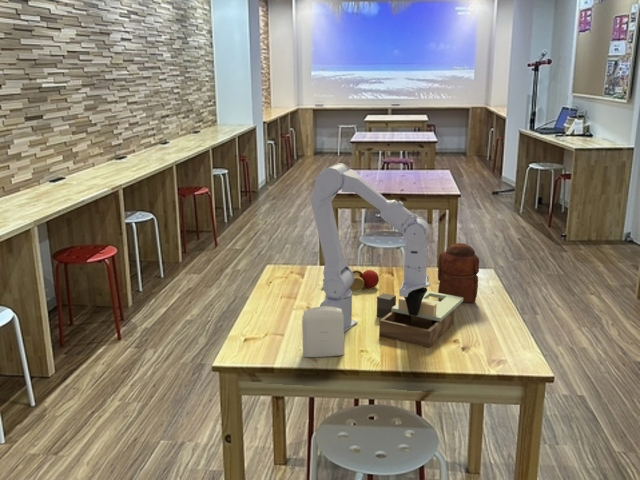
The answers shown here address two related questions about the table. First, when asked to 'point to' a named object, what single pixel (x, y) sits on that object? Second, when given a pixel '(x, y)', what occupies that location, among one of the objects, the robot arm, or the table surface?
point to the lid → (431, 306)
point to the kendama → (364, 280)
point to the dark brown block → (385, 304)
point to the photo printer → (323, 332)
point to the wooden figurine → (459, 272)
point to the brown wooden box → (414, 328)
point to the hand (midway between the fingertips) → (413, 314)
